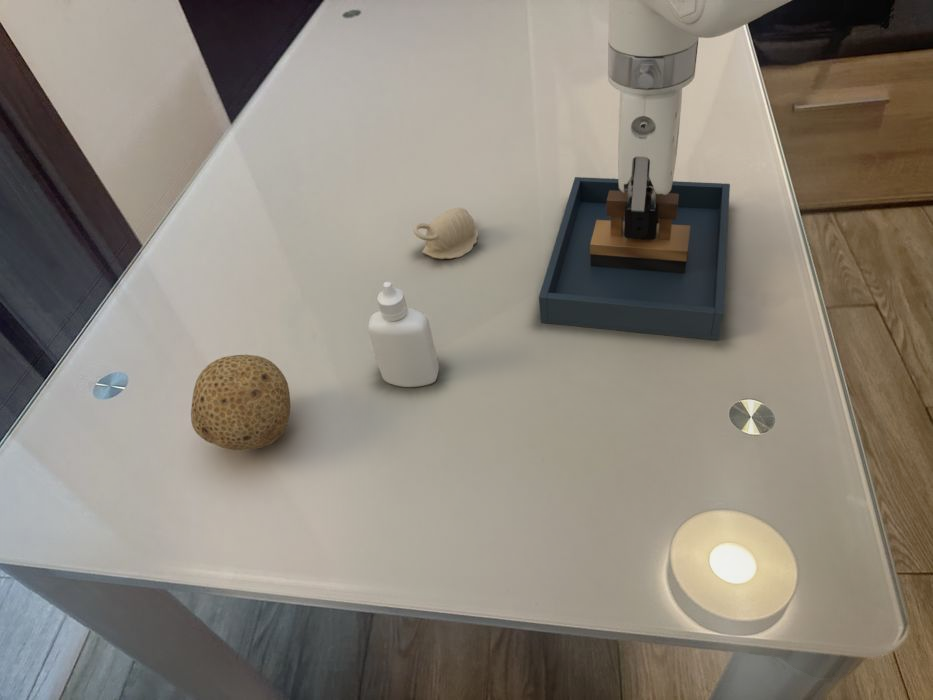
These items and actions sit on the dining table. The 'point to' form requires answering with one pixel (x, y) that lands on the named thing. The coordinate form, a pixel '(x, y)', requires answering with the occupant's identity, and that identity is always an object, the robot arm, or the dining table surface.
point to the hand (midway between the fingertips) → (641, 229)
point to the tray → (640, 291)
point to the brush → (639, 253)
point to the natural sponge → (240, 403)
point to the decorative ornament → (449, 234)
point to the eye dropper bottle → (402, 341)
